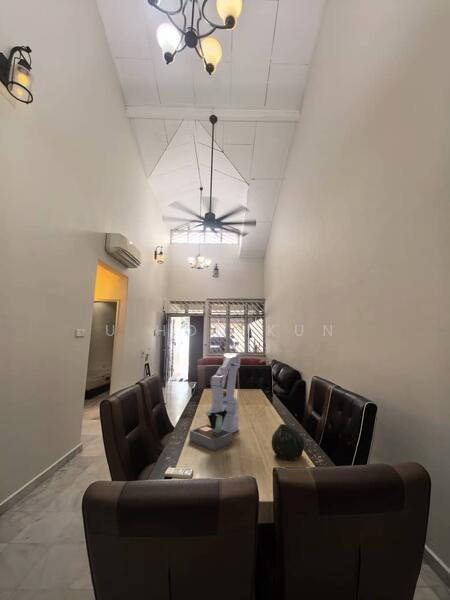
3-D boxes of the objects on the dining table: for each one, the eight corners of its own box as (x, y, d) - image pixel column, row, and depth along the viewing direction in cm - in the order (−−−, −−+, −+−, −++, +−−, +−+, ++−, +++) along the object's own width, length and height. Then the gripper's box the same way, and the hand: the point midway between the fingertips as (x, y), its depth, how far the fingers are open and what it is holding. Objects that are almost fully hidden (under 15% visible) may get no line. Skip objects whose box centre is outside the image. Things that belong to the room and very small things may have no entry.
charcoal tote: (189, 440, 136) (189, 430, 136) (207, 433, 146) (207, 424, 147) (214, 451, 124) (214, 440, 125) (232, 442, 135) (232, 432, 135)
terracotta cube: (205, 436, 141) (205, 426, 142) (212, 438, 138) (212, 428, 139) (198, 438, 137) (199, 428, 138) (205, 441, 134) (205, 431, 135)
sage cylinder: (216, 427, 137) (217, 413, 138) (223, 430, 134) (224, 416, 134) (209, 430, 133) (210, 416, 134) (216, 433, 130) (217, 418, 131)
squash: (315, 445, 121) (294, 415, 128) (300, 458, 110) (278, 424, 117) (294, 459, 127) (275, 429, 135) (278, 472, 116) (259, 439, 123)
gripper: (213, 403, 127) (212, 433, 126) (232, 398, 138) (231, 425, 137) (203, 400, 132) (202, 429, 130) (222, 395, 143) (221, 422, 141)
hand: (216, 427), depth 134 cm, fingers closed on sage cylinder, 5 cm apart
